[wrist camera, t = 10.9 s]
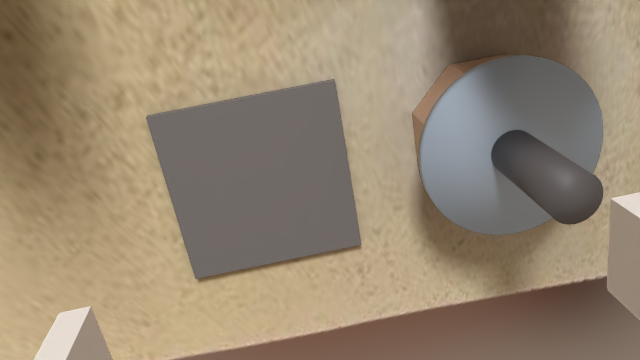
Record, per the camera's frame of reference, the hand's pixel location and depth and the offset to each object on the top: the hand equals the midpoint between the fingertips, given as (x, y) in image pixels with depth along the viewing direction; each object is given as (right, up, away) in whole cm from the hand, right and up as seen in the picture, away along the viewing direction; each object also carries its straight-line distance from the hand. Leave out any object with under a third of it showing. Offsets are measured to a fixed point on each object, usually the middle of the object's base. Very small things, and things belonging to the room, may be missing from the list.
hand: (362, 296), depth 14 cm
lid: (+12, +5, +25) cm, 28 cm away
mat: (-6, +3, +29) cm, 30 cm away
